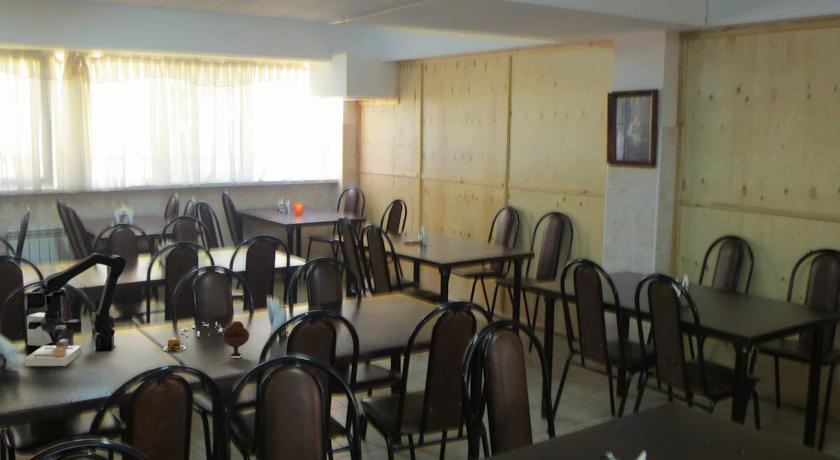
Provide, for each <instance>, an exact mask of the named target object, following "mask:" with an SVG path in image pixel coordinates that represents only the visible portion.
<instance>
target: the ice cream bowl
mask: <svg viewBox="0 0 840 460" xmlns="http://www.w3.org/2000/svg"><path fill="white" fill-rule="evenodd" d="M223 329H224V331H223V332H222V333H221V335H222V339H223V342H224V343H225V345H228V346H229V347H231V348H233V353H231V354H229V355H230V356H240V355H241V354H242V353H240V352H239V348H241V347H242V346H244V344H246V343H247V342H248V341H249V339H250V332H249V331H248V329H247V328H245V325H244V324H243V323H242V322H241V321H239V320H235V321H233V322H231V323H230V324H228V325H226V326H225V328H223Z"/></svg>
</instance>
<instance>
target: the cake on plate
mask: <svg viewBox="0 0 840 460" xmlns="http://www.w3.org/2000/svg"><path fill="white" fill-rule="evenodd" d="M181 346H183V347H184V348H182V347H181ZM166 347H168V348H167V350H168V349H169V350H168V351H170V350H176V351H178V352H181V350H182V351H184V350H185V349H186V348H187V347H186V346H185V345H182V343H181V339H179V338H178V337H171V338H169V339H168V341H167V346H165V347H163V351H165V352H167V350H166V349H165V348H166ZM181 348H182V349H181ZM178 349H179V350H178Z"/></svg>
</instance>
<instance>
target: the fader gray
mask: <svg viewBox="0 0 840 460" xmlns="http://www.w3.org/2000/svg"><path fill="white" fill-rule="evenodd" d="M57 346H66V347H68V346H70V345H69V339H67V338H62V339H59V341H58V342H56V347H57Z"/></svg>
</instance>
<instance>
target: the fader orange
mask: <svg viewBox="0 0 840 460" xmlns="http://www.w3.org/2000/svg"><path fill="white" fill-rule="evenodd" d="M65 353H66V346H57V347H56V348H55V349H53V356H62V355H64V354H65Z"/></svg>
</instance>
